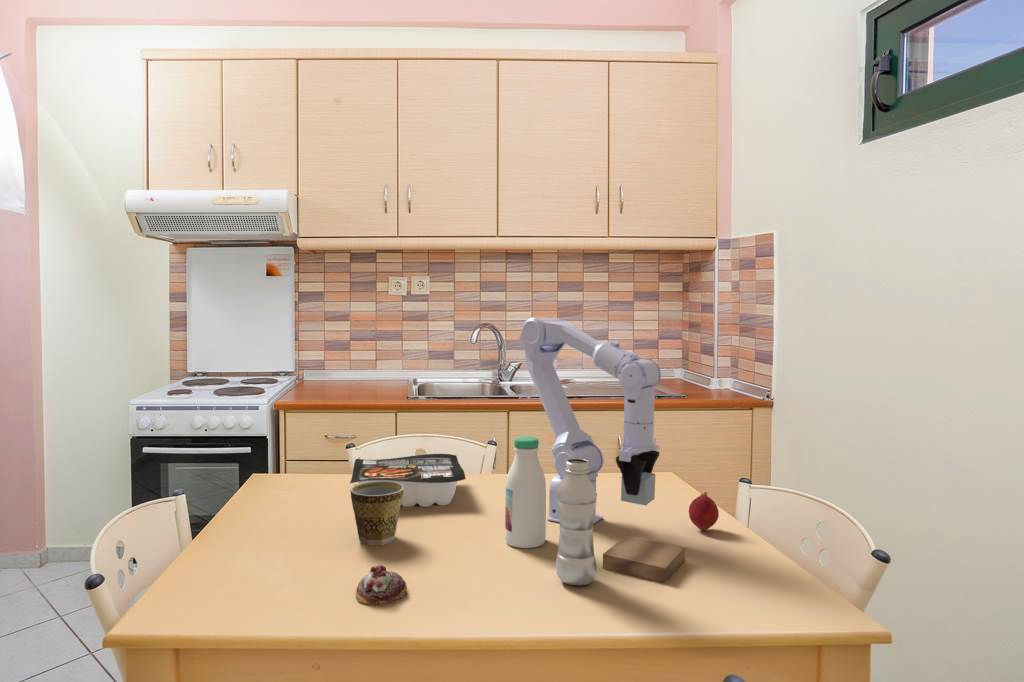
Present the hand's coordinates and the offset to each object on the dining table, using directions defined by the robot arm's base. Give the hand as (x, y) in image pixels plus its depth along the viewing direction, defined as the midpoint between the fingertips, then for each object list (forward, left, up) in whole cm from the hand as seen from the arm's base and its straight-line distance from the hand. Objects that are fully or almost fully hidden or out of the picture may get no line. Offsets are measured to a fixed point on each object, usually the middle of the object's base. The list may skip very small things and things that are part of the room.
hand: (637, 490), depth 126 cm
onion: (+10, +11, -9) cm, 18 cm away
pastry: (-25, -45, -10) cm, 53 cm away
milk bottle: (-17, -14, -9) cm, 24 cm away
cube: (0, 0, -2) cm, 2 cm away
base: (+6, -12, -9) cm, 16 cm away
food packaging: (-55, -3, -10) cm, 56 cm away
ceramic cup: (-43, -28, -10) cm, 52 cm away
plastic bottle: (-1, -25, -9) cm, 27 cm away
